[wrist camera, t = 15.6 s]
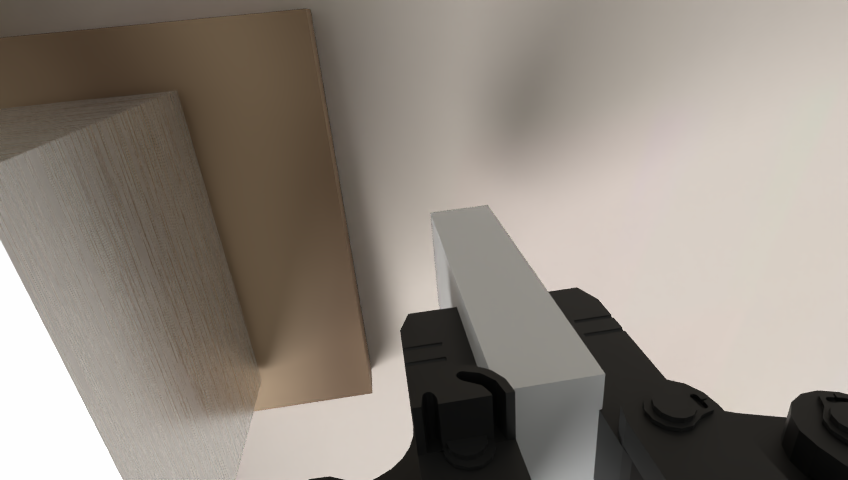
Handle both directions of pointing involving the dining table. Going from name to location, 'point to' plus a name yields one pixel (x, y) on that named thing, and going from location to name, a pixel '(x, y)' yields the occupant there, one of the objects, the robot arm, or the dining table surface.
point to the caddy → (239, 172)
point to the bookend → (115, 300)
